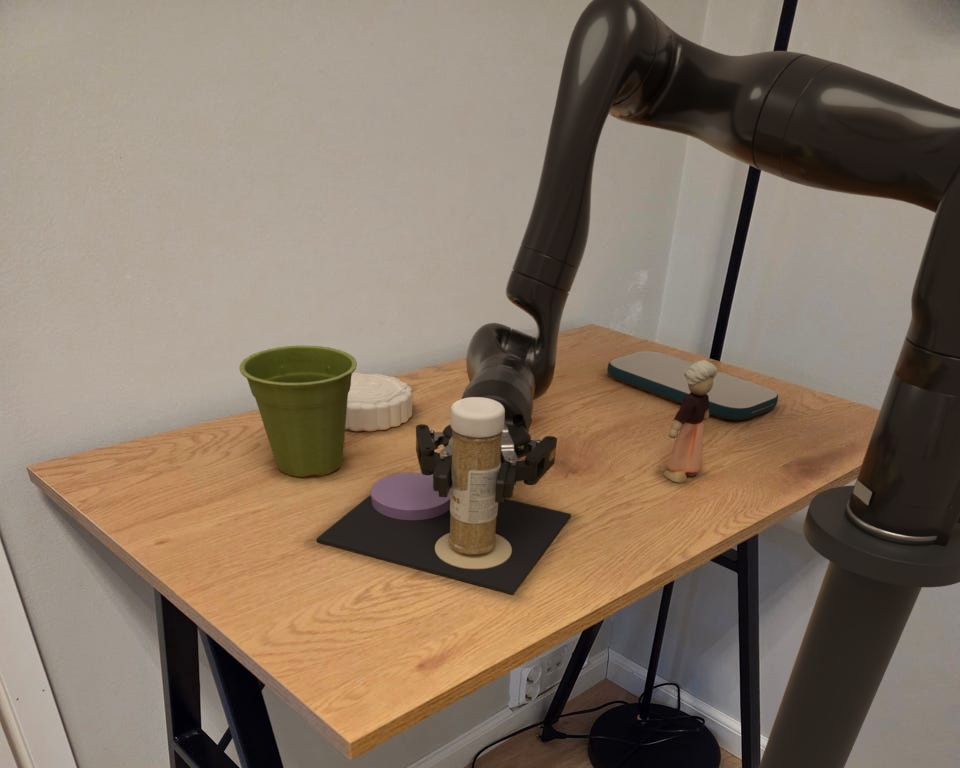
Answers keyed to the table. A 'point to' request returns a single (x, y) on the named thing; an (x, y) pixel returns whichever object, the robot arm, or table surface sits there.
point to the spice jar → (475, 473)
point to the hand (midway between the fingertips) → (471, 490)
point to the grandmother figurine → (691, 423)
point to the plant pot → (302, 404)
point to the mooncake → (377, 402)
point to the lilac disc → (408, 497)
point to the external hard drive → (669, 381)
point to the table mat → (429, 550)
